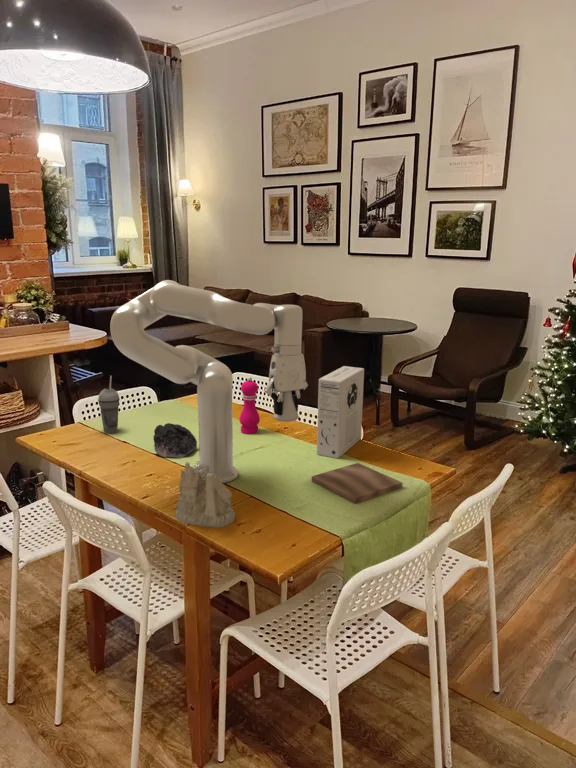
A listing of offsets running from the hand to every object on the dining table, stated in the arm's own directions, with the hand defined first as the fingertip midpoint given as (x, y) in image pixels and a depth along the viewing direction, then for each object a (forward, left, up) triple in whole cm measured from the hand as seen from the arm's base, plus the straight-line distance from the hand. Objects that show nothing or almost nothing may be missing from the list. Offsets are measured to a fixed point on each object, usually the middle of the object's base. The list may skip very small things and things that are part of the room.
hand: (285, 412), depth 170 cm
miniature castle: (-30, -8, -19) cm, 37 cm away
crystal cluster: (-17, +36, -19) cm, 44 cm away
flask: (0, 0, -2) cm, 2 cm away
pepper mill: (+13, +39, -19) cm, 45 cm away
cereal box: (+29, +9, -19) cm, 36 cm away
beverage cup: (-27, +67, -19) cm, 75 cm away
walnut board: (+12, -17, -19) cm, 28 cm away
